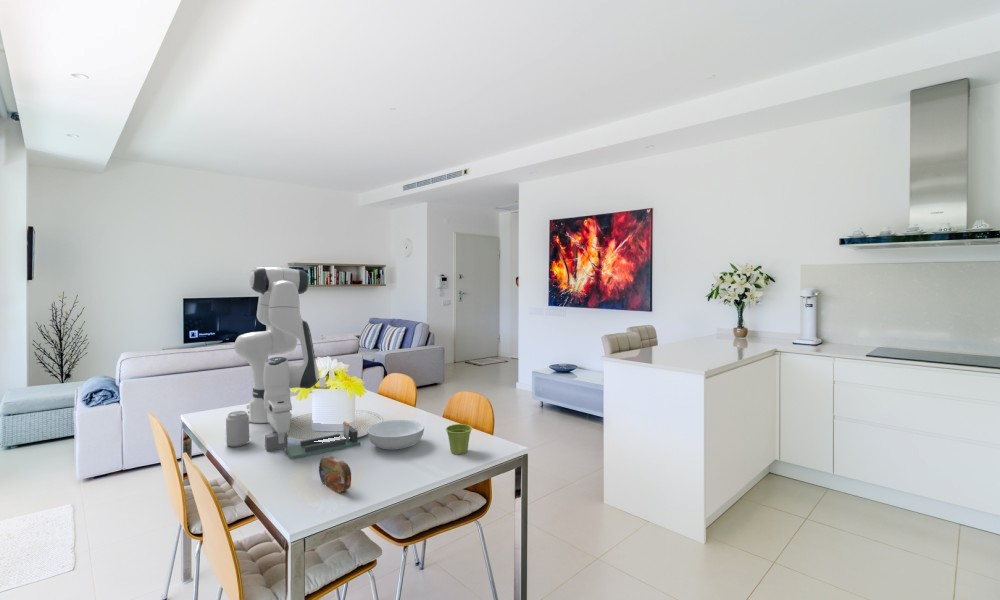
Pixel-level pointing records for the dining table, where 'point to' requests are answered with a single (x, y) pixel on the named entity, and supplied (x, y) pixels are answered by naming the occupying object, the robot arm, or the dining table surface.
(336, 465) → the tin
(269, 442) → the plug
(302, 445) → the header board
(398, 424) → the serving bowl
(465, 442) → the plant pot
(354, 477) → the dining table surface
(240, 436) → the can
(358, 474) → the dining table surface
